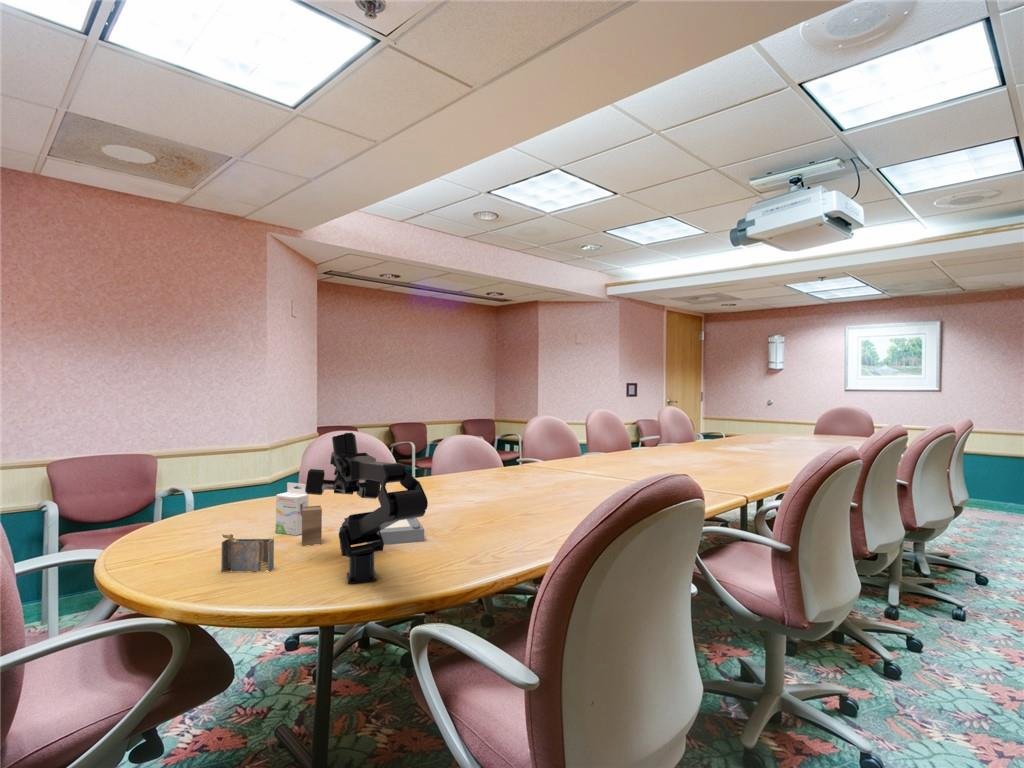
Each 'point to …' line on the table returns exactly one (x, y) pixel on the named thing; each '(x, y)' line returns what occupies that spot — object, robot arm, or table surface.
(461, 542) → the table surface
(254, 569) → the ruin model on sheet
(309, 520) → the walnut brick
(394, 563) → the table surface
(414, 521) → the base brick
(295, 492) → the ink box
